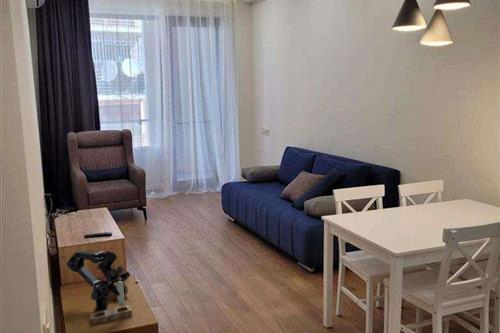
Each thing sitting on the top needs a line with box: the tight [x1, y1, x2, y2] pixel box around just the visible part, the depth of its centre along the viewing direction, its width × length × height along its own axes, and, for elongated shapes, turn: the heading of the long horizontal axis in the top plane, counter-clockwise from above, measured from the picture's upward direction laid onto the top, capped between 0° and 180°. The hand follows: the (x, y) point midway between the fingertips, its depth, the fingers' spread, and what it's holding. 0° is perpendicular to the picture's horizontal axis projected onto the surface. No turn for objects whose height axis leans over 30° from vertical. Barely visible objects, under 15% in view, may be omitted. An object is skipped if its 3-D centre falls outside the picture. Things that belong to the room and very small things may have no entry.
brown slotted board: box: [90, 304, 133, 325], centre depth 250 cm, size 21×7×3 cm, turn 111°
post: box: [115, 281, 126, 307], centre depth 251 cm, size 4×4×13 cm
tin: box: [106, 283, 129, 300], centre depth 275 cm, size 15×3×8 cm, turn 94°
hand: (122, 293), depth 250 cm, fingers closed on post, 4 cm apart
